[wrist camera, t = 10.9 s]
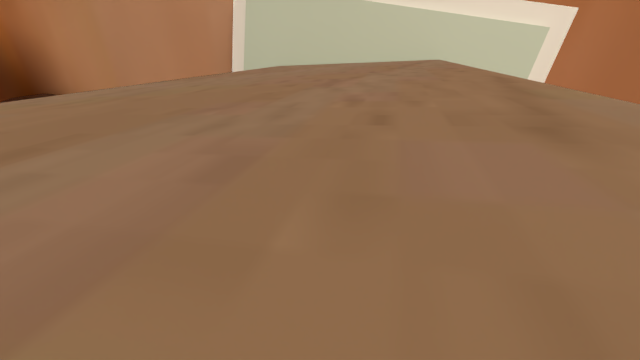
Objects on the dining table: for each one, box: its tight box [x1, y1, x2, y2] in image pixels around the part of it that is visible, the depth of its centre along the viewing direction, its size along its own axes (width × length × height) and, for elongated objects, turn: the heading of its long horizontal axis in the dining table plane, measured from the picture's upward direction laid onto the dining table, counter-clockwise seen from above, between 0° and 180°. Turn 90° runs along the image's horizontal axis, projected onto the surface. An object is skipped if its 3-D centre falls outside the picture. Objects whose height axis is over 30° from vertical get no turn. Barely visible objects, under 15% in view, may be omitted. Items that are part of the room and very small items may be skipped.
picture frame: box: [232, 0, 578, 83], centre depth 21 cm, size 18×18×4 cm
